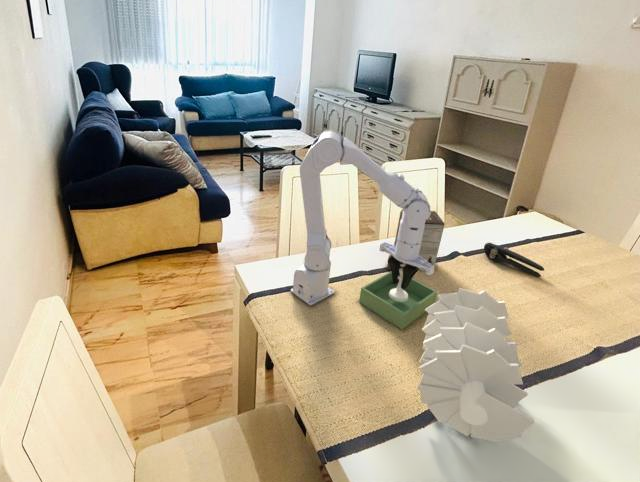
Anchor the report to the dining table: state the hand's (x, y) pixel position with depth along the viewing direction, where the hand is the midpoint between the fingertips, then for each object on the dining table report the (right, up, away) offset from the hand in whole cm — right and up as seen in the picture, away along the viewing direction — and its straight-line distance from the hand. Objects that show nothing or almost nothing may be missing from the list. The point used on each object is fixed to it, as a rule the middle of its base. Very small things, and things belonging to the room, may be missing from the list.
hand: (400, 285), depth 100 cm
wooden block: (+6, +1, +20) cm, 21 cm away
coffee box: (+14, +2, +23) cm, 27 cm away
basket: (0, -6, +2) cm, 6 cm away
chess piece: (0, -3, +1) cm, 4 cm away
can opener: (+43, 0, +23) cm, 49 cm away
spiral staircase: (+4, -16, -23) cm, 28 cm away
